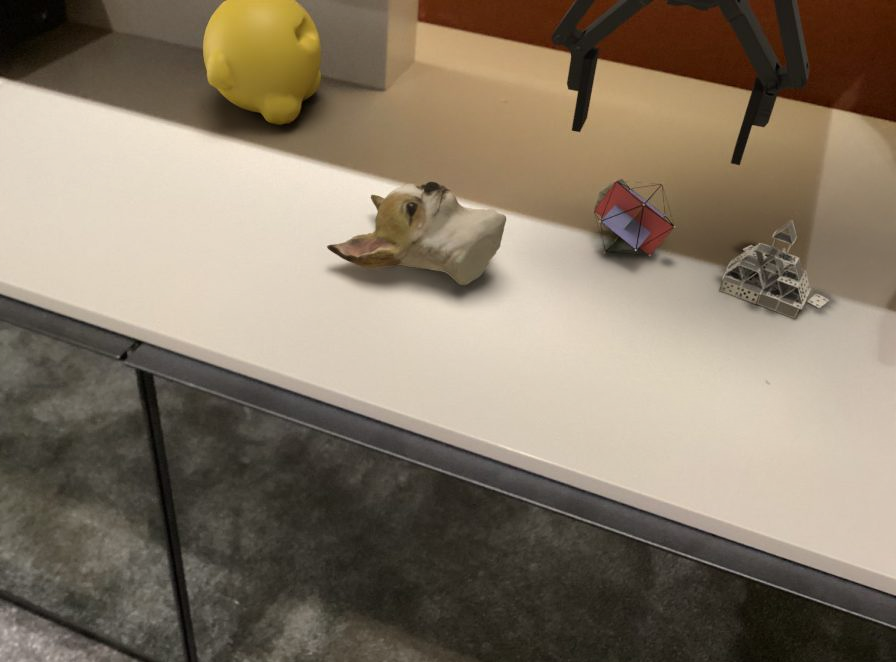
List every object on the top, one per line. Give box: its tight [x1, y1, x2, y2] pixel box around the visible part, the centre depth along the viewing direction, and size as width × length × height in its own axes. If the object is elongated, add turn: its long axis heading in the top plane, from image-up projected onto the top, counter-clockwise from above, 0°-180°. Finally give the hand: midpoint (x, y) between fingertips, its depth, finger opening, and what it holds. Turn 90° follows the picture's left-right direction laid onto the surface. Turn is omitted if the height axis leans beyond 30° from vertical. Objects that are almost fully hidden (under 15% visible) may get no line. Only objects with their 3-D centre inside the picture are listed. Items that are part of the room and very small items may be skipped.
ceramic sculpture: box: [326, 181, 507, 286], centre depth 86 cm, size 11×9×15 cm
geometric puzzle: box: [592, 178, 676, 257], centre depth 89 cm, size 7×7×8 cm
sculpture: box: [202, 0, 322, 126], centre depth 104 cm, size 15×13×13 cm
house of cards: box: [718, 219, 830, 320], centre depth 85 cm, size 9×9×8 cm
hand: (656, 140), depth 83 cm, fingers open, 13 cm apart
